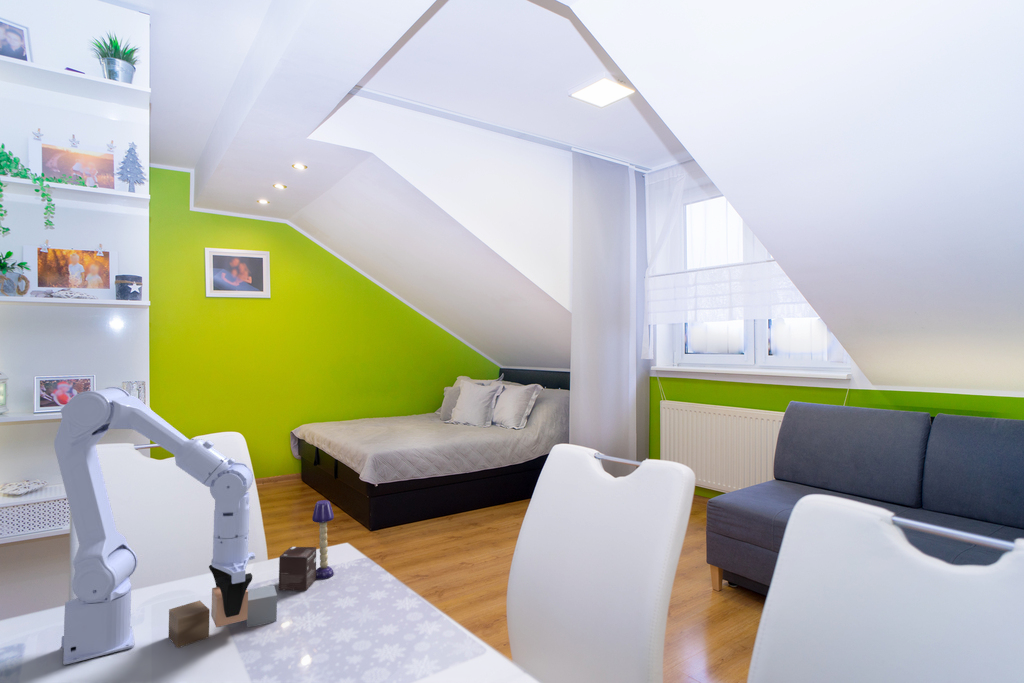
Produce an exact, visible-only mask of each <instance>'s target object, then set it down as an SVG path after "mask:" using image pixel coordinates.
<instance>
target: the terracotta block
mask: <svg viewBox="0 0 1024 683" xmlns="http://www.w3.org/2000/svg"><path fill="white" fill-rule="evenodd" d="M210 615H211V619H212V621H213V623H214V626H215V628H220V627H223V626H227V625H231V624H234V623H239V622H242V621H243V622H244V621H246V620H247V615H248V588H247V589H246V592H245V595H244V598H243V602H242V606H241V610H240V613H239V615H235V616H231V617H226V615H225V612H224V606H223V598H222V594H221V590H220V588H219V587H216V586H215V587H212V588H211V612H210Z"/></svg>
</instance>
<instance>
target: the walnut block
mask: <svg viewBox="0 0 1024 683" xmlns="http://www.w3.org/2000/svg"><path fill="white" fill-rule="evenodd" d="M210 614H211V612H210V608H209V607H208V606H206V605H205V604H204V603H203V602H202V600H197V601H193V602H189V603H186V604H183V605H179V606H175V607H173V608H170V609H168V639H169V640H170V639H171V640H172V641H173V642H172V641H171V642H172V643H173V644H174V646H175V645H176V646H175V647H176V648H177V649H179V648H182V647H184V646H188V645H191V644H193V643H196V642H199V641H202V640H205V639H207V638H208V639H209V638H210ZM181 646H182V647H181Z"/></svg>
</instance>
